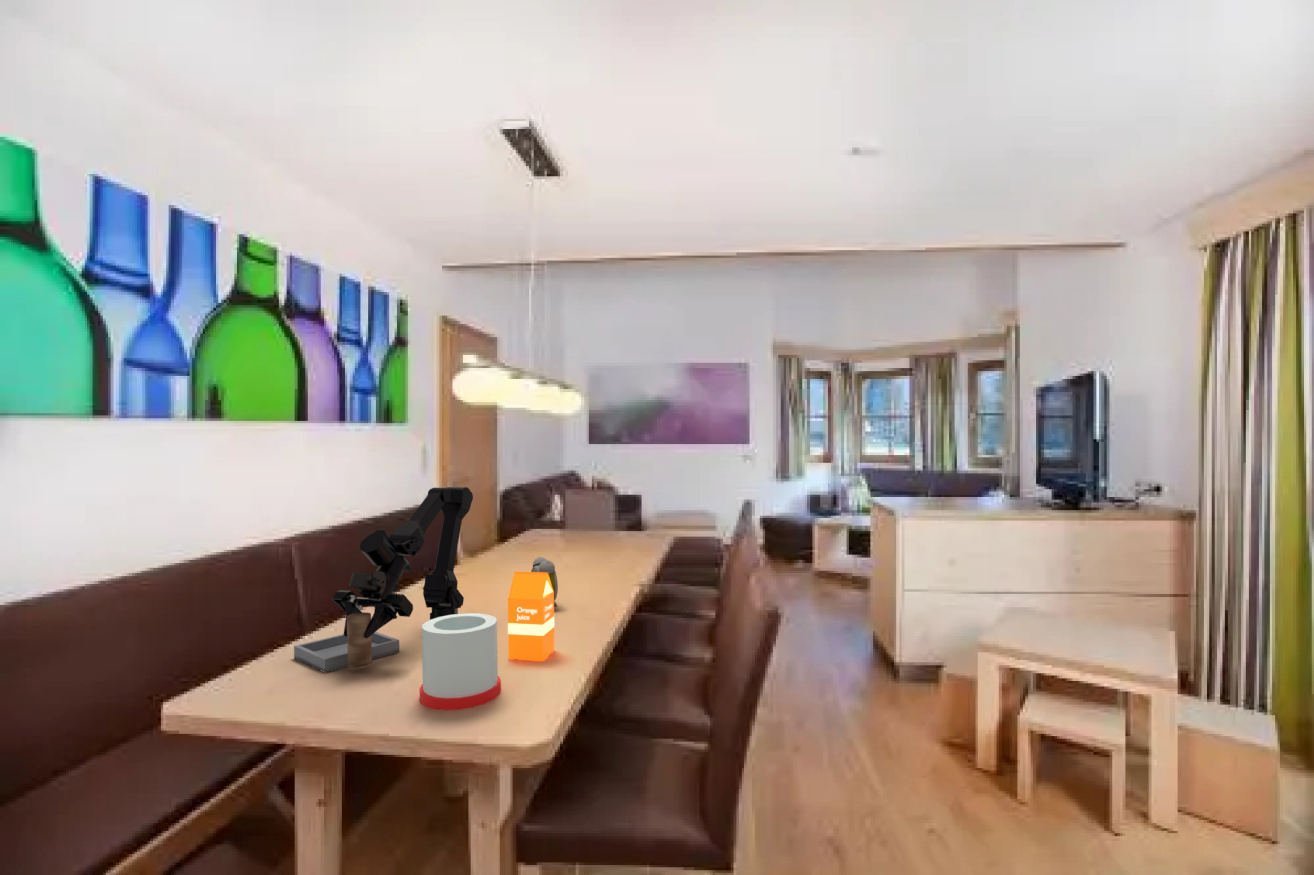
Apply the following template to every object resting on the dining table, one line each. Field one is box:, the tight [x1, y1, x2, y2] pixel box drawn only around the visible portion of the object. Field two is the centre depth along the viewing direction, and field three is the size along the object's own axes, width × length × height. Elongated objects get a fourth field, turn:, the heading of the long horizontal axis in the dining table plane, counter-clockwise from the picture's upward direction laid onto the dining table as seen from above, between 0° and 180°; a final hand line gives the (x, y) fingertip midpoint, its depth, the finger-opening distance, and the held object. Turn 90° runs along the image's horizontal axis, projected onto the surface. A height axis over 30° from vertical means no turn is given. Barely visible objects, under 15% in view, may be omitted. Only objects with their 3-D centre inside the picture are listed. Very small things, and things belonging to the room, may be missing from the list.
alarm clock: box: [530, 556, 559, 607], centre depth 206 cm, size 12×7×15 cm, turn 28°
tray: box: [293, 631, 400, 673], centre depth 164 cm, size 18×16×3 cm
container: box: [419, 612, 502, 711], centre depth 138 cm, size 16×16×15 cm
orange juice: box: [507, 571, 555, 662], centre depth 162 cm, size 8×9×20 cm
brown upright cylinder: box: [347, 611, 373, 669], centre depth 152 cm, size 5×5×11 cm
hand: (355, 636), depth 151 cm, fingers closed on brown upright cylinder, 5 cm apart
